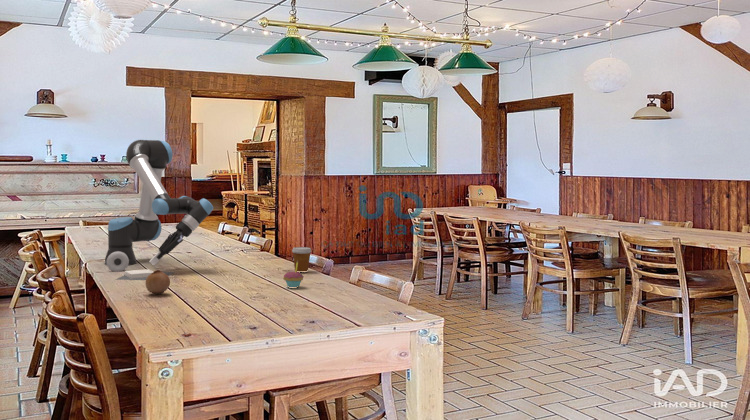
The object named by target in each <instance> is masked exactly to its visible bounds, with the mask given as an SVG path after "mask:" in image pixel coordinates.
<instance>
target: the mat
mask: <svg viewBox="0 0 750 420" xmlns="http://www.w3.org/2000/svg"><path fill="white" fill-rule="evenodd" d="M162 272H163V273H165V274H166V275H168V277H169V276H171V275H173V274H175V272H172V271H171V272H169V271H168V272H167V271H166V272H164V271H162ZM146 279H147V277H145V278H132V279H131V278H129V277H127V276H125V275H122V276H120V277H117V278H115V280H118V281H121V280H122V281H123V280H124V281H125V280H126V281H127V280H128V281H146Z"/></svg>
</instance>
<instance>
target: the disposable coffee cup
mask: <svg viewBox="0 0 750 420" xmlns="http://www.w3.org/2000/svg"><path fill="white" fill-rule="evenodd" d="M291 252H292V256H293V258H292V259H293V265H294V266H293V268H294V270H295V269H296V263H297V261H298V266H297V271H307V270H308V271H309V265H310V260H311V253H312V249H311V247H305V246H297V247H296V246H295V247H293V248H292V250H291Z"/></svg>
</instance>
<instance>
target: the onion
mask: <svg viewBox="0 0 750 420" xmlns="http://www.w3.org/2000/svg"><path fill="white" fill-rule="evenodd" d="M163 272H164V271H161V270H159V269H156V270H154V272H153V273H152V274H150V275H149V276H148V277H147V279H146V280H145V282H144V283H145V287H146V289H147V291H148V293H151V294H154V295H162V294H163V293H165V292H166V291H167V290H168V289H169V287H170V284H171V278H170V277H169V276H168V275H166V274H165V273H163Z"/></svg>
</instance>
